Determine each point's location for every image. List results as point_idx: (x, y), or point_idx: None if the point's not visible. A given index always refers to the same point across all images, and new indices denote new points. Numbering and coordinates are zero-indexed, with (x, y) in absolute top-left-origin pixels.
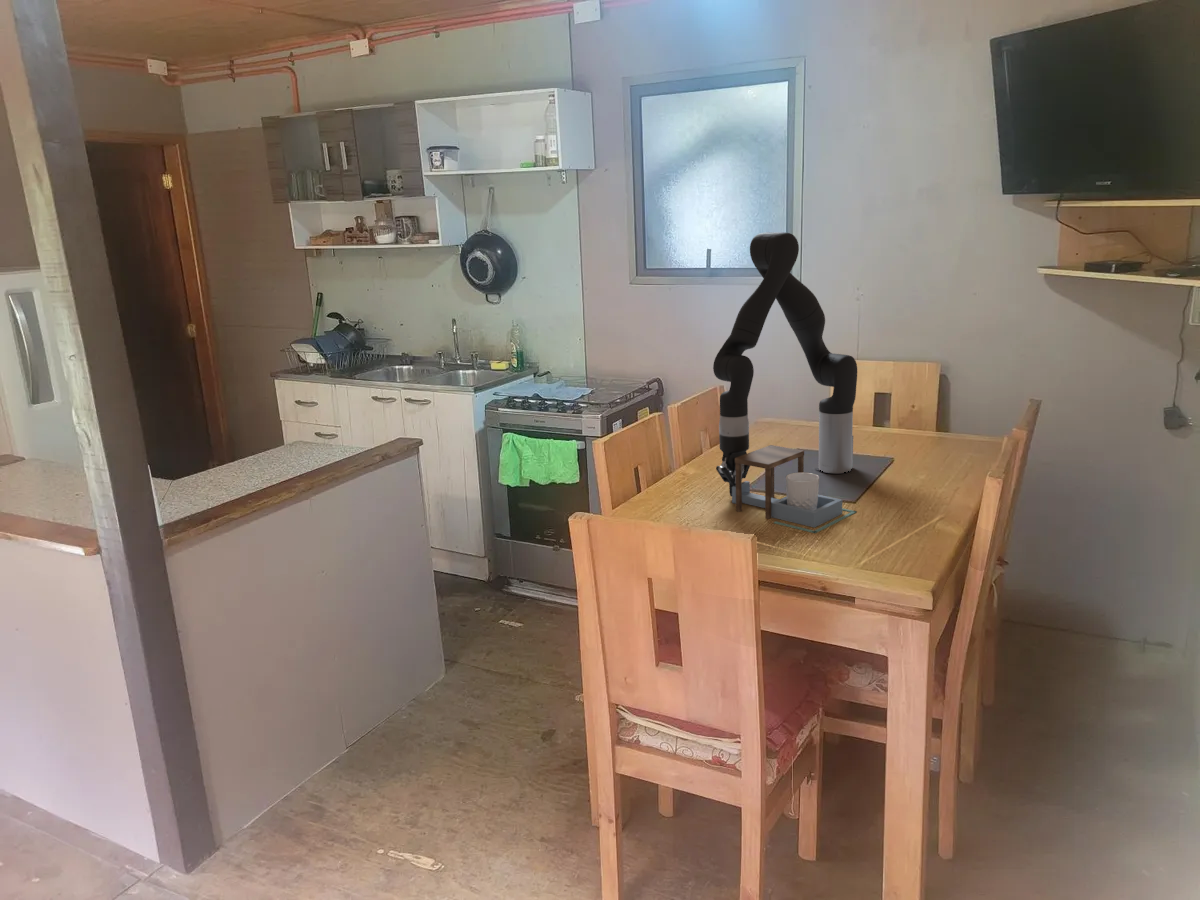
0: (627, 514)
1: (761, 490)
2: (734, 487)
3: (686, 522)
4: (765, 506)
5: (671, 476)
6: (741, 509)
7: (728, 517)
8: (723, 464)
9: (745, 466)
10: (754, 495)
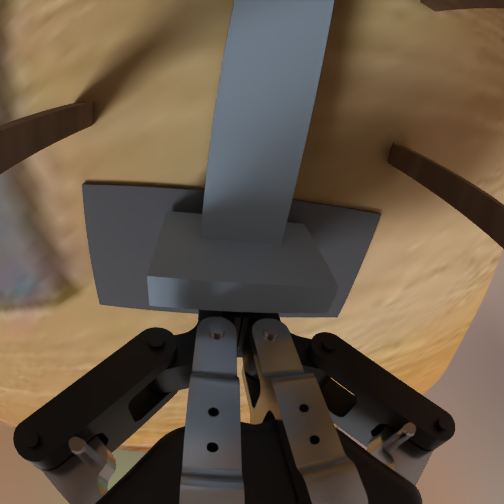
0: (430, 378)
1: (27, 235)
2: (335, 293)
3: (488, 267)
4: (483, 7)
5: (150, 443)
6: (404, 148)
7: (455, 173)
8: (422, 468)
9: (111, 415)
10: (247, 147)
